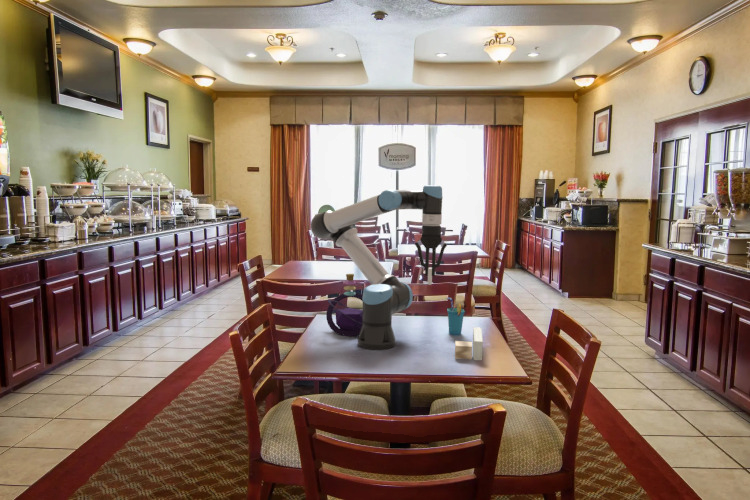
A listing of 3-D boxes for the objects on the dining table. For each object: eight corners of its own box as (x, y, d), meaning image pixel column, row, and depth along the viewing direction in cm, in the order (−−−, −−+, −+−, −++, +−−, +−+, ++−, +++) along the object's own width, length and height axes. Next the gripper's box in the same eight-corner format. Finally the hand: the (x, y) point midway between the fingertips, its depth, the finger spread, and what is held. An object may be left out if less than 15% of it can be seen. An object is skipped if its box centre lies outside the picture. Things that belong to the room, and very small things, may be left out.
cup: (438, 329, 226) (439, 296, 224) (453, 328, 229) (454, 295, 227) (454, 338, 213) (455, 303, 212) (470, 336, 216) (471, 302, 214)
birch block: (455, 358, 188) (455, 345, 187) (454, 353, 194) (455, 340, 193) (471, 359, 187) (472, 346, 186) (470, 354, 193) (471, 341, 192)
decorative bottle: (316, 334, 216) (316, 275, 213) (335, 322, 236) (335, 269, 233) (365, 339, 209) (366, 279, 206) (381, 327, 229) (382, 272, 226)
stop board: (473, 359, 187) (474, 341, 186) (472, 343, 206) (473, 327, 205) (481, 360, 186) (482, 341, 185) (480, 344, 206) (481, 327, 205)
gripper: (414, 225, 197) (412, 284, 200) (448, 226, 195) (445, 286, 198) (416, 223, 205) (414, 281, 207) (448, 225, 202) (446, 283, 205)
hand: (429, 284), depth 202 cm, fingers closed
